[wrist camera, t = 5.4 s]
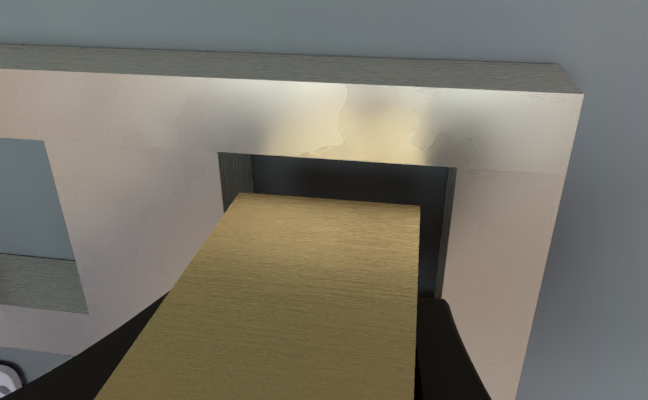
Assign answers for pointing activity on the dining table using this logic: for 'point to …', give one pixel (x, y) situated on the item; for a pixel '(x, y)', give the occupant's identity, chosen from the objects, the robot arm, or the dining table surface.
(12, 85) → the rail
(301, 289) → the brass block
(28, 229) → the dining table surface
